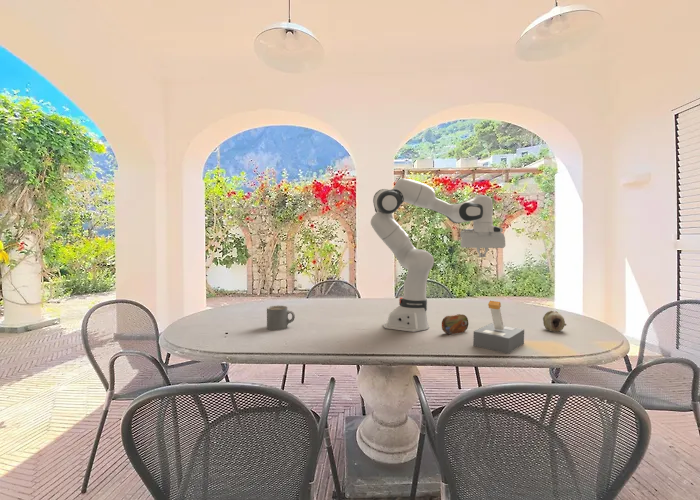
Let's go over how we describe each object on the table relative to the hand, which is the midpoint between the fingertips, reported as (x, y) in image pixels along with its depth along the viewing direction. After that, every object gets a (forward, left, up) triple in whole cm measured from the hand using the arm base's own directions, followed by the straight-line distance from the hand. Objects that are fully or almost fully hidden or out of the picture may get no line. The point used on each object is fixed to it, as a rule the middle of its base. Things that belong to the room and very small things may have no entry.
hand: (482, 257), depth 166 cm
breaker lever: (+4, -25, -28) cm, 38 cm away
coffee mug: (-96, -24, -35) cm, 105 cm away
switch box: (+4, -25, -35) cm, 43 cm away
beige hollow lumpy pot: (+34, +5, -35) cm, 49 cm away
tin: (-13, -11, -35) cm, 39 cm away
